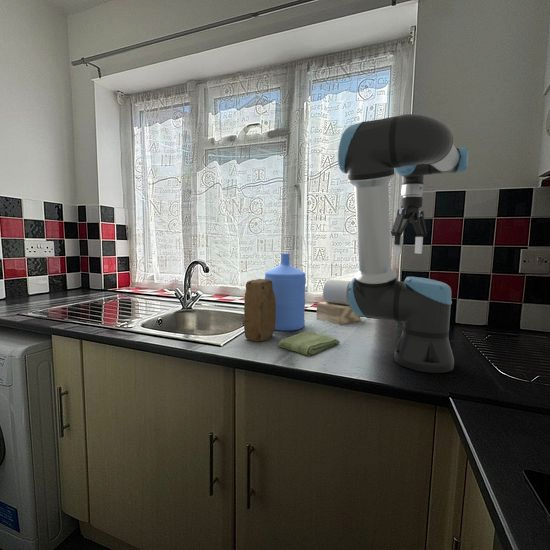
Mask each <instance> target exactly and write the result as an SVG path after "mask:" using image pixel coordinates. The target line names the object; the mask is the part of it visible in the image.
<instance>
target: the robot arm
mask: <svg viewBox="0 0 550 550" xmlns="http://www.w3.org/2000/svg"><path fill="white" fill-rule="evenodd" d="M469 155H470V153H469V148H468V147H455V145H454V136H453V133H452V131H451V129H450V128H449V127H448V126H447V125H446V124H445V123H443V122H442V121H440V120H438V119H436V118H434V117H431V116H427V115H423V114H418V113H406V114H401V115H397V116H390V117H385V118H379V119H378V118H377V119H374V120H367V121H364V120H363V121H361V122H357V123H354V124H351V125H348V126H347V127H346V128H345V129H343V132H342V133H341V136H340V139H339V142H338V146H337V164H338V166H339V167H338V168H339V170H340V172H341V173H343V174H347V181H348V183H350V184H351V185H353V187H354V188H353V190H354V200H355V201H354V203H355V204H354V205H355V214H356V215H355V216H356V217H355V218H356V220H355V221H356V235H357V248H358V249H357V250H358V262H359V263H358V265H359V270H357V272H356V273H355V274H354V277H353V278H352V279H351V280H350V281H351V282H350V285H349V292H348V298H349V304H350V307H351V309H352V311H353V312H354V313H355V314H356V315H358V316H360V317H363V318H367V319H374V320H375V319H376V320H381V321H382V320H383V321H390V322H396V323H400V324H401V323H402V330H401V331H402V333H401V335H400V338H399V339H398V342H397V344H396V347H395V349H394V353H393V354H394V355H393V358H394V359H393V360H394V361H395V362H396V364H398V365H400V366H402V367H404V368H407V369H410V370H412V371H417V372H422V373H431V374H437V373H438V374H440V373H441V374H443V373H448V372H452V371H453V370H454V368H455V367H454V366H455V358H454V354H453V350H452V348H451V343H450V340H449V334H450V333H449V332H450V318H451V308H452V307H451V305H452V304H453V301H452V288H451V286H450V285H448V284H447V283H445V282H443V281H439V280H436V279H431V278H425V277H419V276H418V277H417V276H406V278H405V279H404V281H401V280H400V281H399V280H398V278H397V276H398V275H397V272H396V271H395V270H394V269H392V265H391V263H392V262H391V236H392V237H394V247H393V248H394V251H393V252H394V253H393V254H394V255H402V254H403V241H404V236H402V234H403V233H404V231H405V229H407V228H406V227H407V226H408V224H412V226H413V229H414V232H415V234H416V236H415V238H414V240H415V242H414V254H420V255H421V254H423V245H424V244H423V243H424V237H425V238H426V237H427V235H428V231H427V226H426V221H425V216H424V215H425V212H424V210H420V209H421V208H423V199H424V198H423V197H422V196H423V195H424V194H423V193H424V182H425V181H424V179H425V176H430V175H439V174H440V175H441V174H452V173H453V174H456V173H463V172H466V171H467V169H468V167H469V157H470V156H469ZM395 172H396V174H398V175H399V176H401V178H402V179H401V180H402V181H401V189H400V190H401V193H400V194H401V195H400V196H401V198H400V208H399V209H397V213H396V217H395V219H394V223H393V225H392V227H391V228H390V225H391V224H390V197H389V196H390V195H389V194H390V193H389V182H391V180H392V178H393V177H394V176H395ZM419 210H420V211H419ZM390 230H391V231H390Z"/></svg>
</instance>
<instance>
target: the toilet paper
mask: <svg viewBox="0 0 550 550" xmlns="http://www.w3.org/2000/svg"><path fill="white" fill-rule="evenodd" d="M350 282H351V280H341V279H340V280H339V279H330V278H329V279H327V280H326V281H325V283H324V286H323V289H322V290H323V291H322V297H323V300H324V302H327V303H334V304H342V305H350V304H349V298H348V292H349V285H350Z"/></svg>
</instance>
